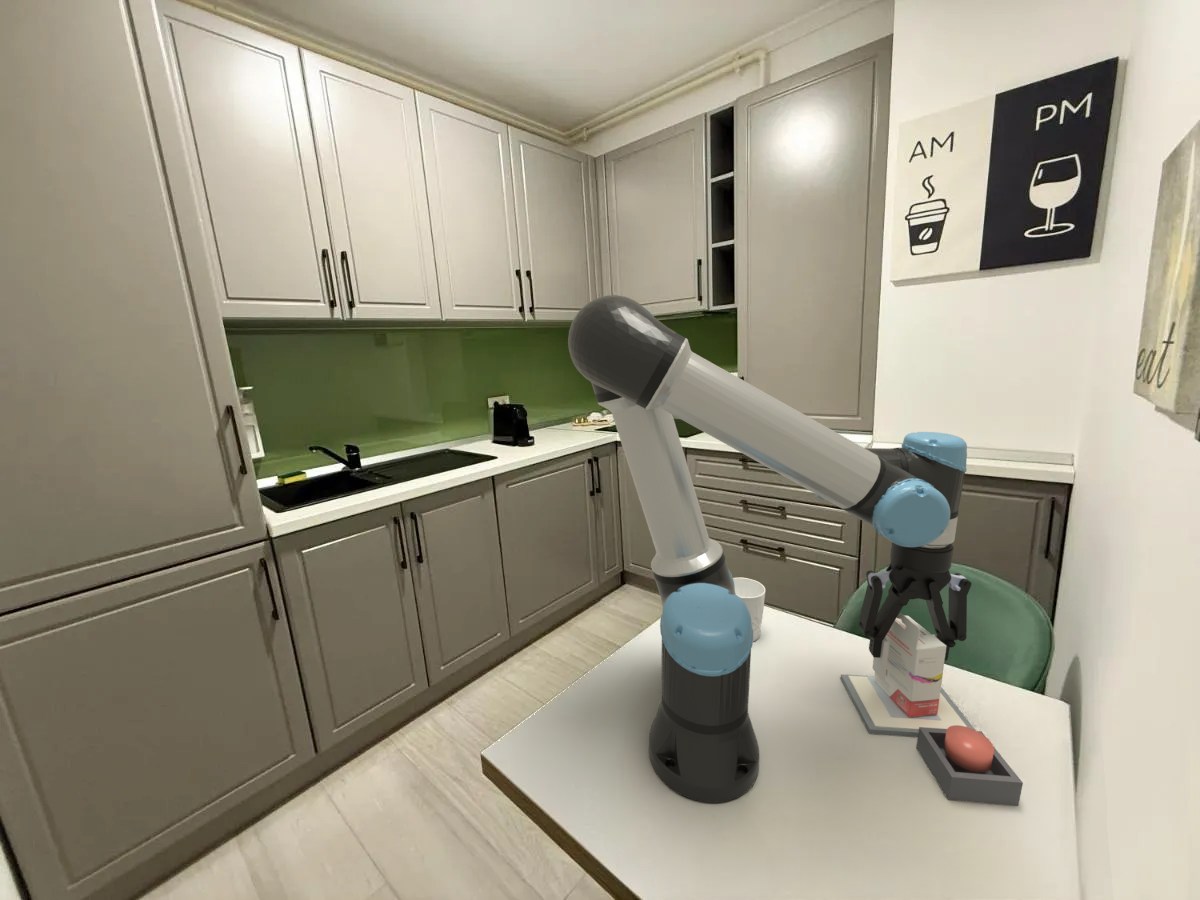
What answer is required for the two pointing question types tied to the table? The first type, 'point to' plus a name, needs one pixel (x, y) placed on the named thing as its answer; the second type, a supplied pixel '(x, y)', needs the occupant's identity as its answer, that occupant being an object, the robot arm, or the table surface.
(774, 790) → the table surface
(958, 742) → the button
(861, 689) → the board
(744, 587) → the white cup
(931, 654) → the ink cartridge box
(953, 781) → the button housing
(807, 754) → the table surface
